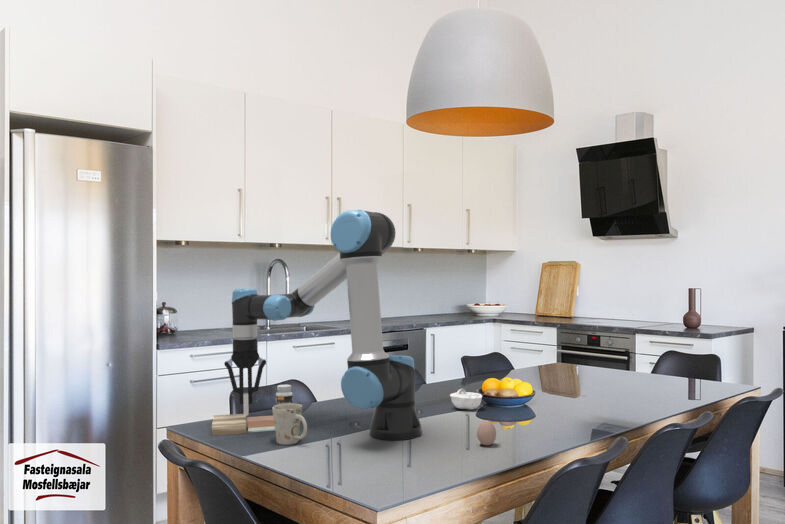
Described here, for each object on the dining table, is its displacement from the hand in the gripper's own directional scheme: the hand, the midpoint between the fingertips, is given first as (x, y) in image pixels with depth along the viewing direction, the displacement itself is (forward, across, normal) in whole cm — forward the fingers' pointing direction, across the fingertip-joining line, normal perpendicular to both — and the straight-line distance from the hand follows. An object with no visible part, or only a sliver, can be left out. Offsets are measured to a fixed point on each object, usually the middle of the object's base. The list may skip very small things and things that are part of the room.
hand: (246, 414), depth 205 cm
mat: (+4, -6, -1) cm, 8 cm away
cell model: (+4, -74, -5) cm, 74 cm away
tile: (+4, -5, 0) cm, 6 cm away
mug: (+4, -12, +23) cm, 26 cm away
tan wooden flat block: (+4, +5, 0) cm, 6 cm away
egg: (+4, -64, +40) cm, 75 cm away
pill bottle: (+4, -12, -13) cm, 18 cm away
